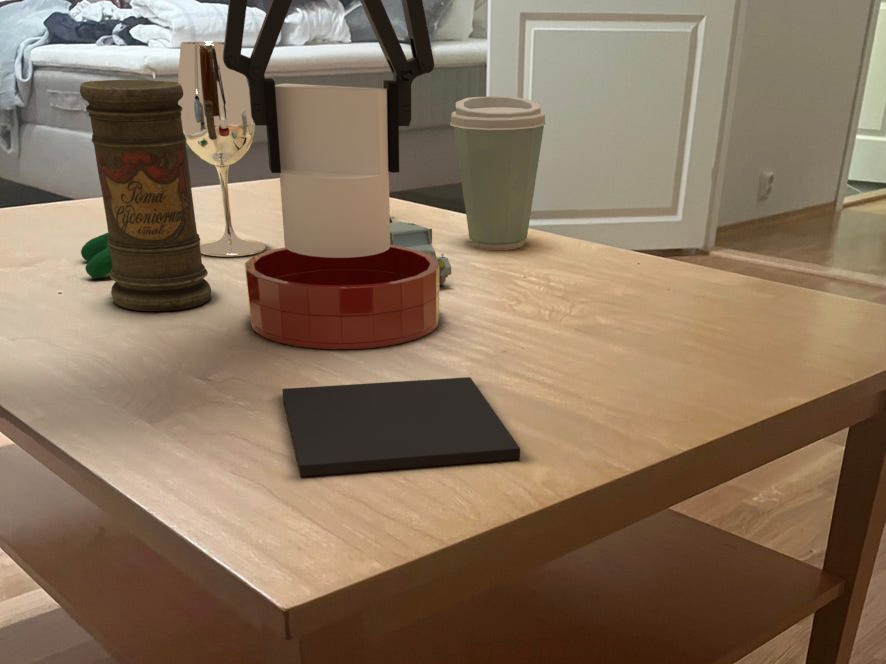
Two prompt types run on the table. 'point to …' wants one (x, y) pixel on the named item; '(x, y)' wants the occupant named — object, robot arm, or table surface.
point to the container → (146, 194)
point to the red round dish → (343, 298)
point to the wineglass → (216, 126)
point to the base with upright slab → (334, 169)
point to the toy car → (418, 243)
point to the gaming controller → (97, 256)
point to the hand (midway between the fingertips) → (334, 169)
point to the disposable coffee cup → (498, 166)
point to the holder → (394, 426)
